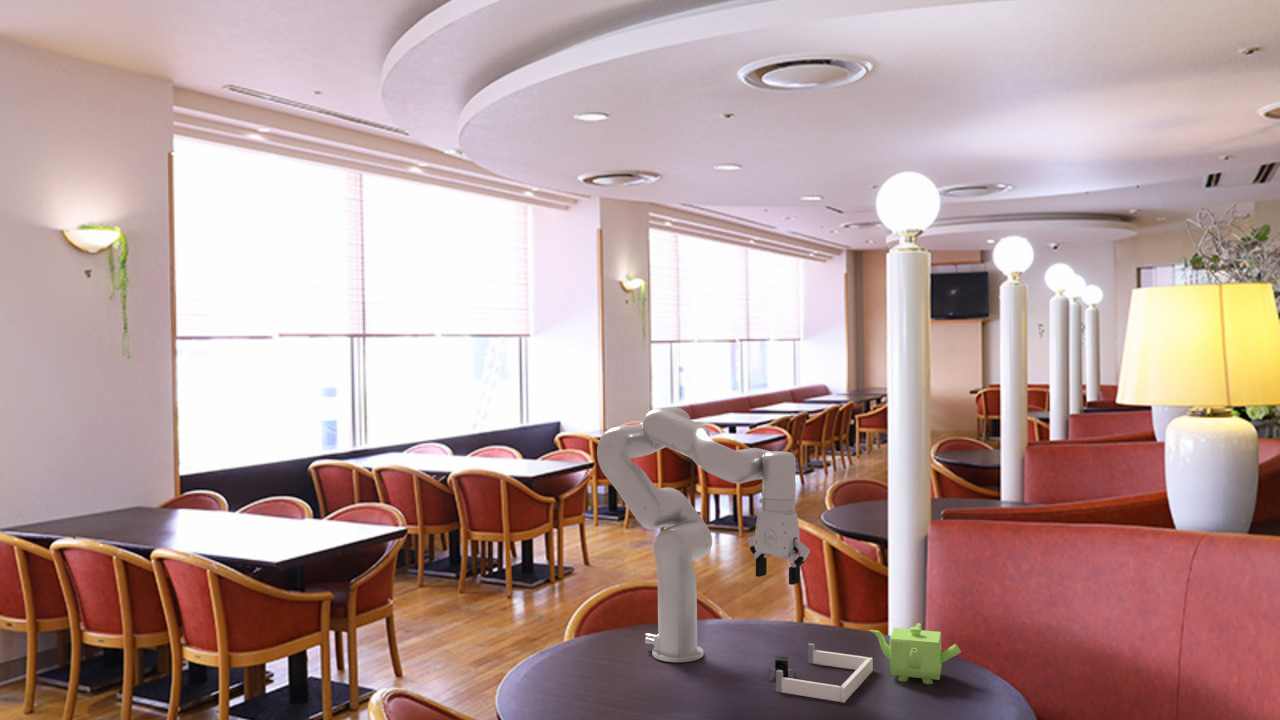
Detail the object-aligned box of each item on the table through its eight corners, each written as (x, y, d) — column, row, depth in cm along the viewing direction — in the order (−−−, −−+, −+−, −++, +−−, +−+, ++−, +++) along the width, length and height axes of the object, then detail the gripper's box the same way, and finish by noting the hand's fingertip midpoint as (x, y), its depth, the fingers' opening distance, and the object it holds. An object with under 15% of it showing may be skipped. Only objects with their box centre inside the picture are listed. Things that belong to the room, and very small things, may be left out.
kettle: (868, 672, 220) (868, 624, 220) (915, 663, 226) (915, 616, 226) (915, 692, 207) (914, 640, 207) (963, 682, 213) (963, 631, 213)
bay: (776, 691, 208) (775, 671, 208) (809, 661, 228) (809, 643, 228) (844, 702, 201) (844, 681, 201) (872, 670, 221) (872, 651, 221)
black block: (797, 688, 212) (797, 667, 212) (764, 687, 213) (764, 666, 213) (796, 669, 224) (796, 650, 224) (765, 668, 225) (765, 648, 225)
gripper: (739, 502, 223) (738, 575, 224) (798, 512, 211) (797, 589, 211) (760, 499, 229) (758, 570, 229) (819, 508, 216) (817, 584, 216)
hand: (777, 579), depth 220 cm, fingers open, 9 cm apart
